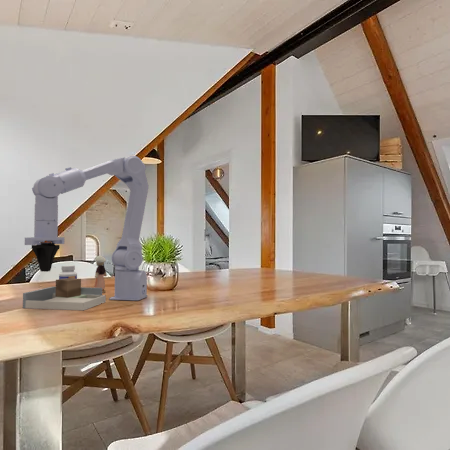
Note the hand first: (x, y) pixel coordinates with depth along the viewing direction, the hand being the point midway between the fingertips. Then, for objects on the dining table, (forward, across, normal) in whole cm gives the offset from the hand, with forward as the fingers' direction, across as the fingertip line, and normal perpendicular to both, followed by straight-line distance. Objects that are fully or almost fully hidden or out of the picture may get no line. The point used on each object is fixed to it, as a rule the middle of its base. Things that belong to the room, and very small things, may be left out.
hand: (45, 271), depth 100 cm
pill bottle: (+10, -20, -5) cm, 23 cm away
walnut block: (+8, -8, +2) cm, 11 cm away
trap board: (+10, -5, +4) cm, 11 cm away
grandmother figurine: (+10, -28, +2) cm, 30 cm away
